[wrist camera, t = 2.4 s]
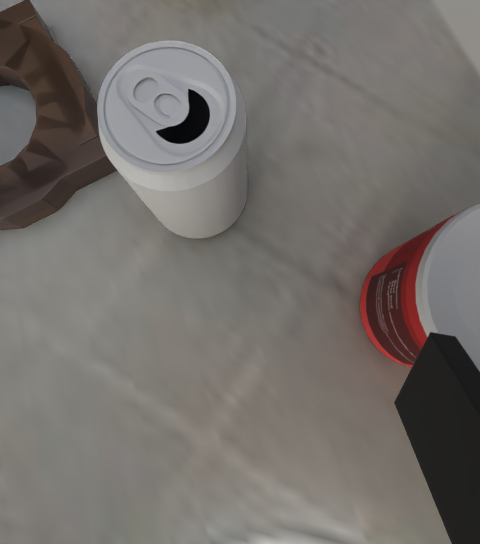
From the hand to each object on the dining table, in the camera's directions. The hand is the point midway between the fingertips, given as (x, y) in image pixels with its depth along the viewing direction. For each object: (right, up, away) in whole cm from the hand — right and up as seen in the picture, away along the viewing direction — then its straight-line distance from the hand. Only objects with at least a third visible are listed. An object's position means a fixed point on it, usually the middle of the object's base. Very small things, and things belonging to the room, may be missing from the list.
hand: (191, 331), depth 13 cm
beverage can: (-1, +7, +18) cm, 19 cm away
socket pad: (-15, +11, +18) cm, 26 cm away
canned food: (+13, -1, +17) cm, 21 cm away
